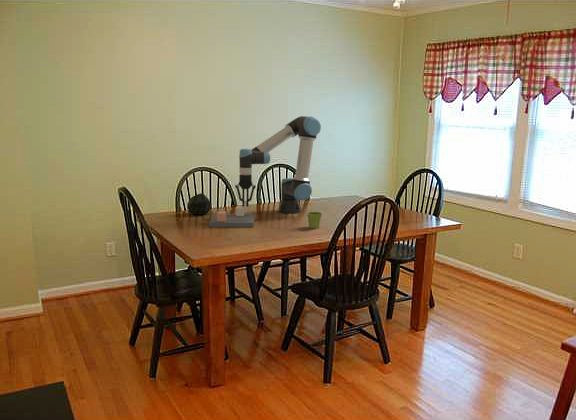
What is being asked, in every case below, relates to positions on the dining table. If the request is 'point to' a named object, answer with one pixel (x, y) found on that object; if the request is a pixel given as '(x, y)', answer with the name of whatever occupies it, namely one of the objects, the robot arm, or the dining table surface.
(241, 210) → the block
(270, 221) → the dining table surface
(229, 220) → the console
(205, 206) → the squash
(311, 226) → the plant pot
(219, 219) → the salmon orange block
